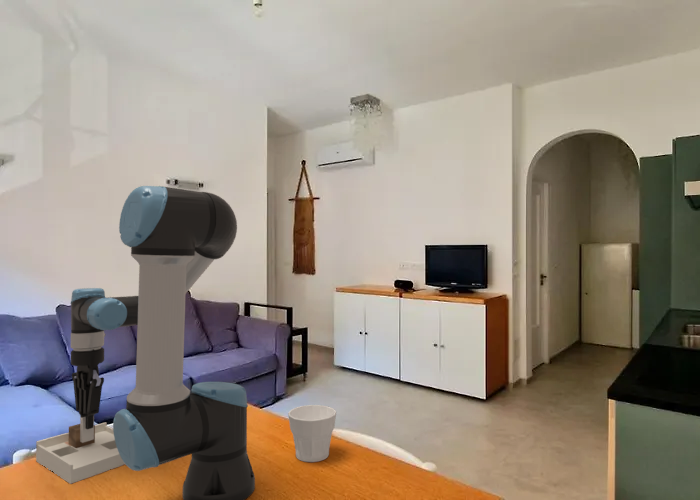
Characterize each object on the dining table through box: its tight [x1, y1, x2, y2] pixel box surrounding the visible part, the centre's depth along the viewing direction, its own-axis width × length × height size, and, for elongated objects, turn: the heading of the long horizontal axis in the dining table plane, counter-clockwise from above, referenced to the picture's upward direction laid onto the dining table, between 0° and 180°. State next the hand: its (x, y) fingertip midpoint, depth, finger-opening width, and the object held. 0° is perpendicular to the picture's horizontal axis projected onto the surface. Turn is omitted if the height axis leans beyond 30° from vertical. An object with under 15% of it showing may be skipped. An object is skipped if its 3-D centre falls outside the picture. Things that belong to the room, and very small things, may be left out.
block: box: [68, 423, 96, 448], centre depth 119 cm, size 4×4×4 cm
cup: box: [287, 404, 337, 463], centre depth 118 cm, size 12×12×11 cm
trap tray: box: [35, 422, 126, 485], centre depth 116 cm, size 20×17×5 cm
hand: (86, 440), depth 117 cm, fingers closed
